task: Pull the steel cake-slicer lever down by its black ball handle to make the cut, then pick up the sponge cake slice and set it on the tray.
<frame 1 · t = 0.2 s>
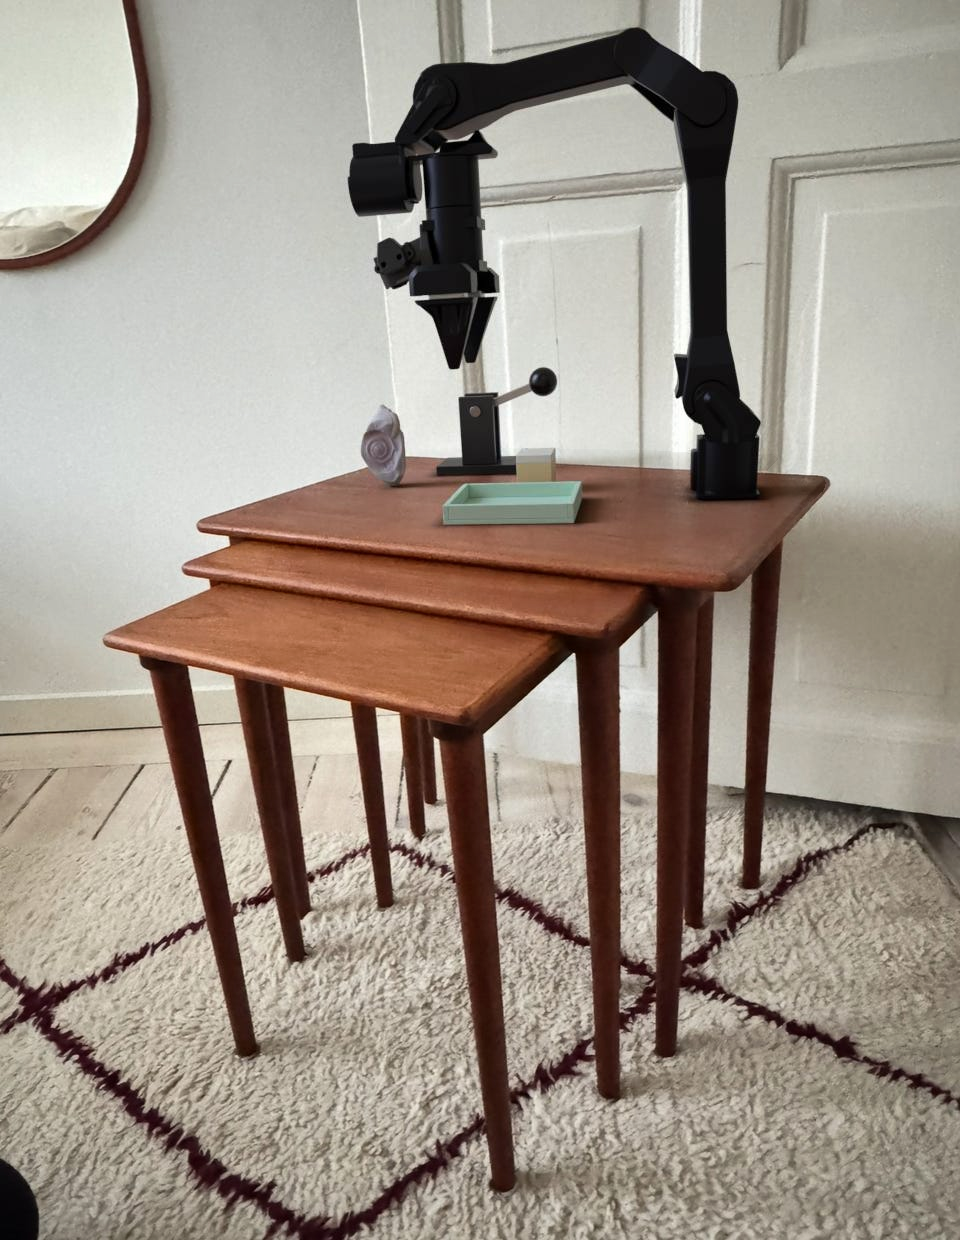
hand: (462, 365, 97), 15 cm above the table, tool pointing down, fingers open, 9 cm apart
cake slice: (537, 490, 104), on the table
black lever stand: (482, 469, 119), on the table
tray: (515, 511, 94), on the table
slicer lever: (512, 394, 115), point 10 cm above the table, hinge at 20.0°
fossil: (388, 488, 111), on the table
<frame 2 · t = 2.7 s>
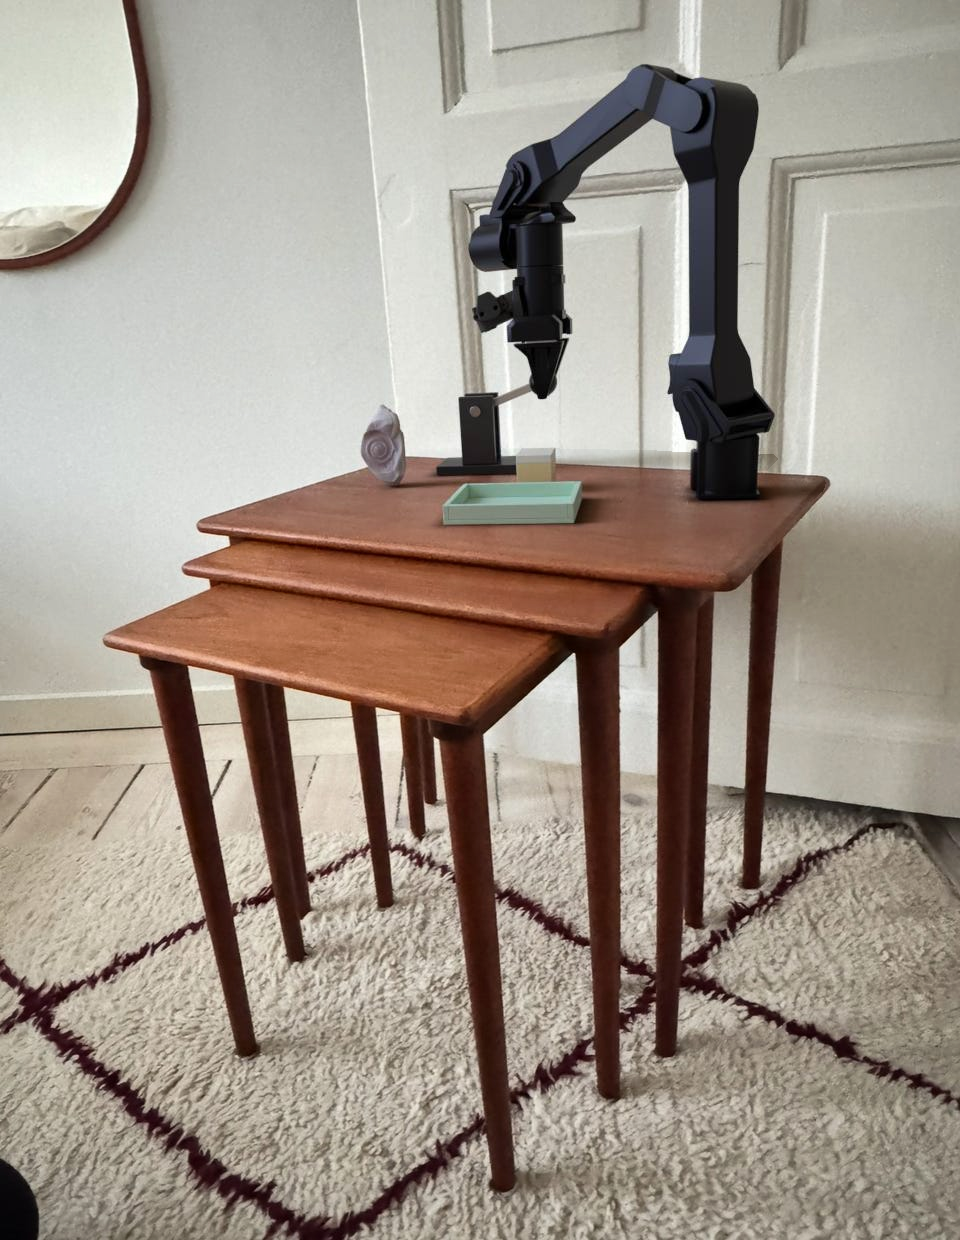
hand: (544, 397, 114), 9 cm above the table, tool pointing down, fingers closed on slicer lever, 3 cm apart
slicer lever: (512, 394, 115), point 10 cm above the table, hinge at 20.0°, touching gripper
everything else where it was.
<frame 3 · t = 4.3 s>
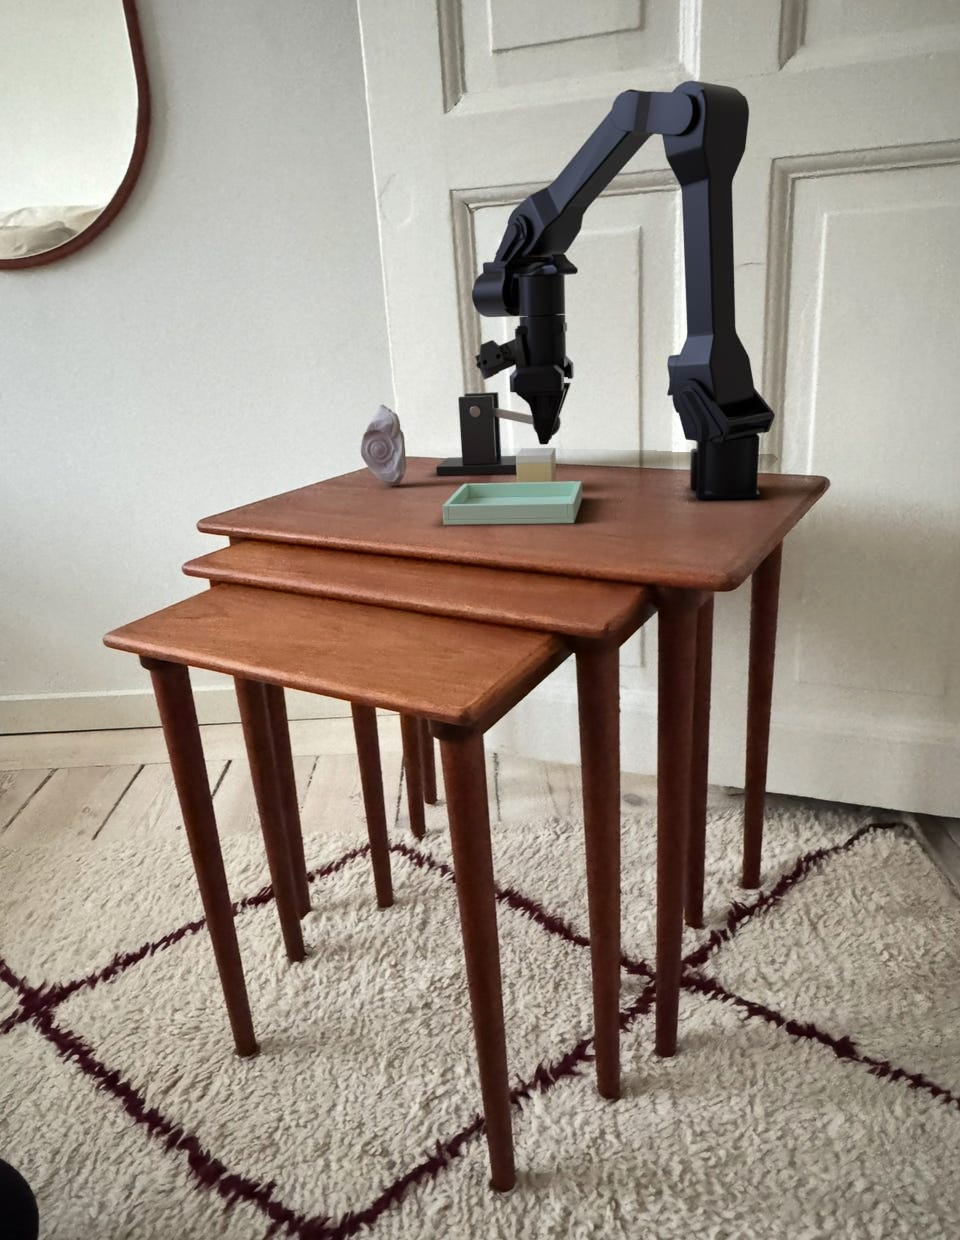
hand: (545, 442, 116), 3 cm above the table, tool pointing down, fingers closed on slicer lever, 3 cm apart
slicer lever: (514, 416, 116), point 7 cm above the table, hinge at -13.6°, touching gripper
everything else where it was.
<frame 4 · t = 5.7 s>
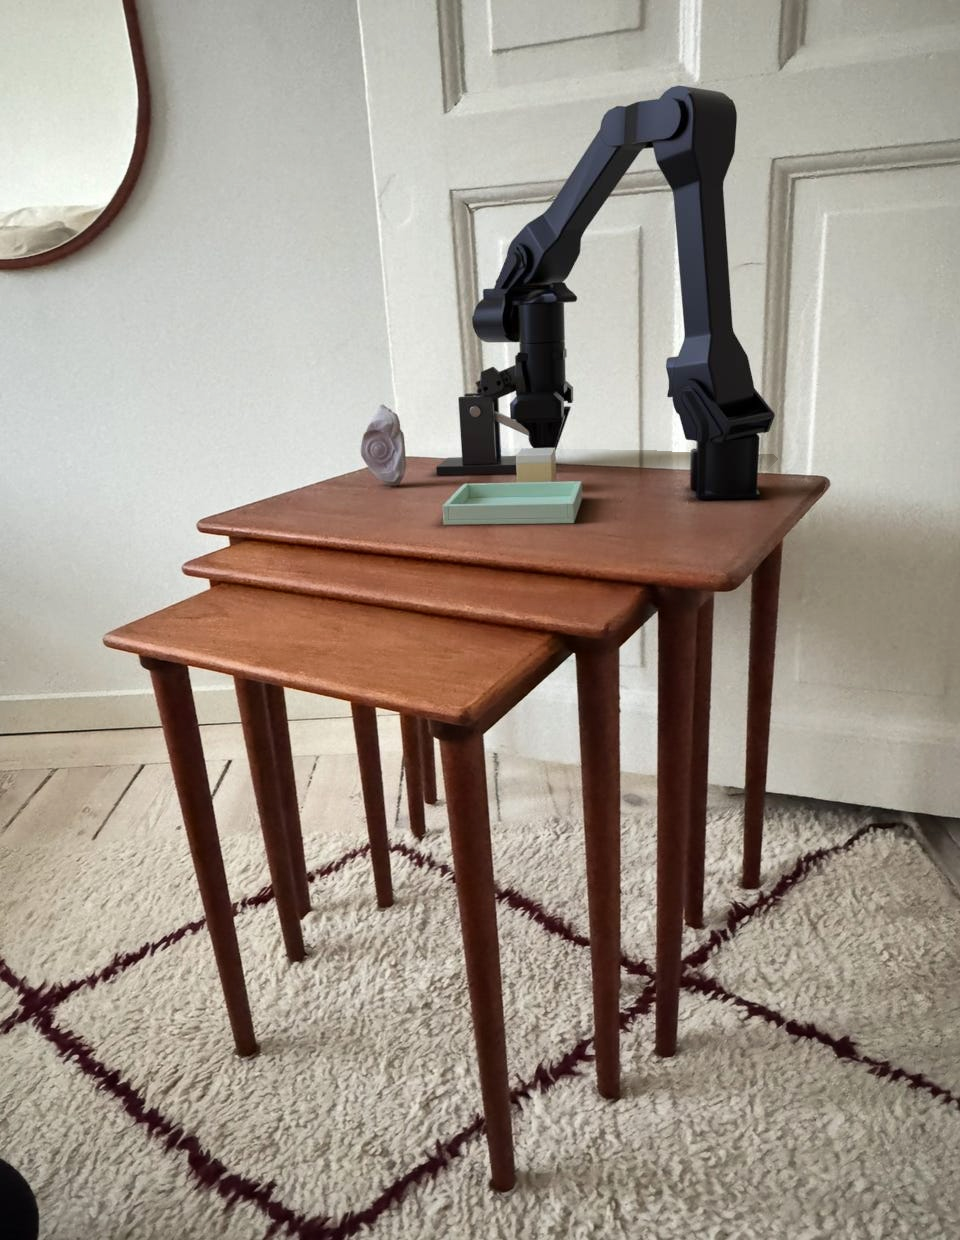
hand: (545, 466, 117), 0 cm above the table, tool pointing down, fingers open, 5 cm apart
slicer lever: (512, 423, 116), point 6 cm above the table, hinge at -25.6°
everything else where it was.
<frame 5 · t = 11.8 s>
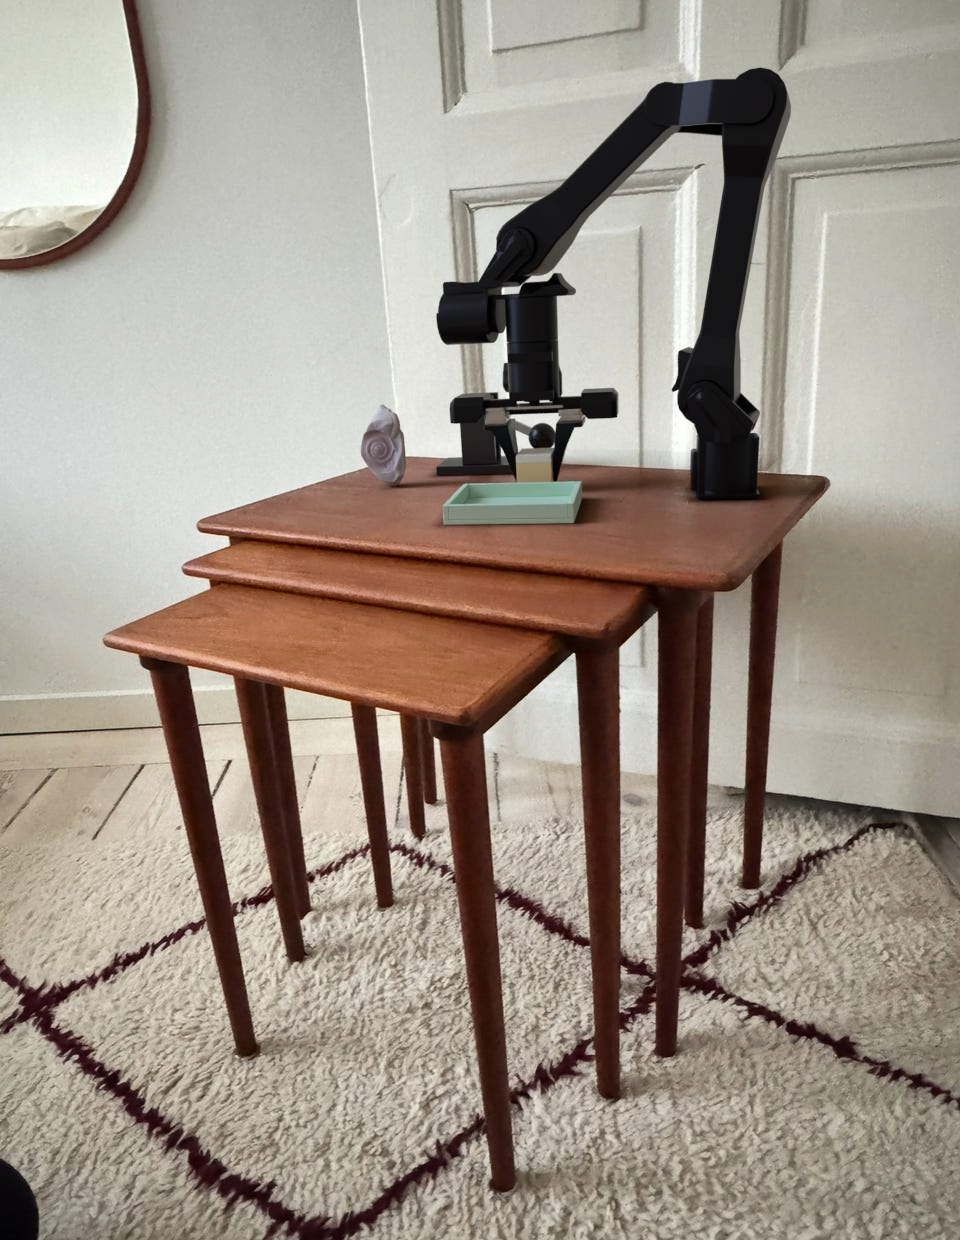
hand: (537, 481, 104), 1 cm above the table, tool pointing down, fingers closed on cake slice, 4 cm apart
cake slice: (537, 490, 104), on the table, touching gripper
everything else where it was.
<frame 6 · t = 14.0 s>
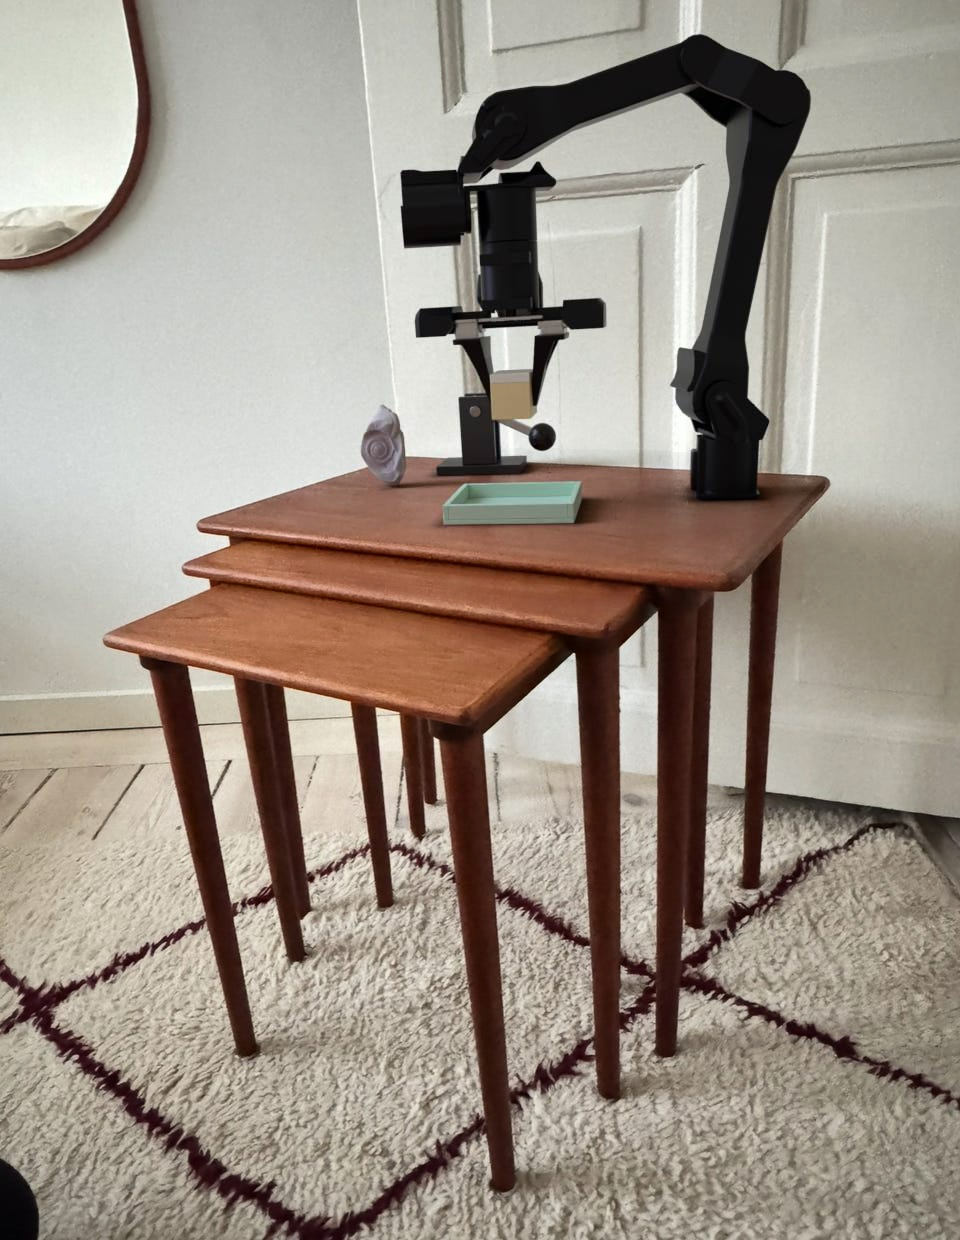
hand: (514, 406, 92), 11 cm above the table, tool pointing down, fingers closed on cake slice, 4 cm apart
cake slice: (515, 416, 92), point 10 cm above the table, touching gripper
everything else where it was.
when the fingers open (2 cm above the table, at t = 16.5 s): cake slice stays where it is, resting on tray.
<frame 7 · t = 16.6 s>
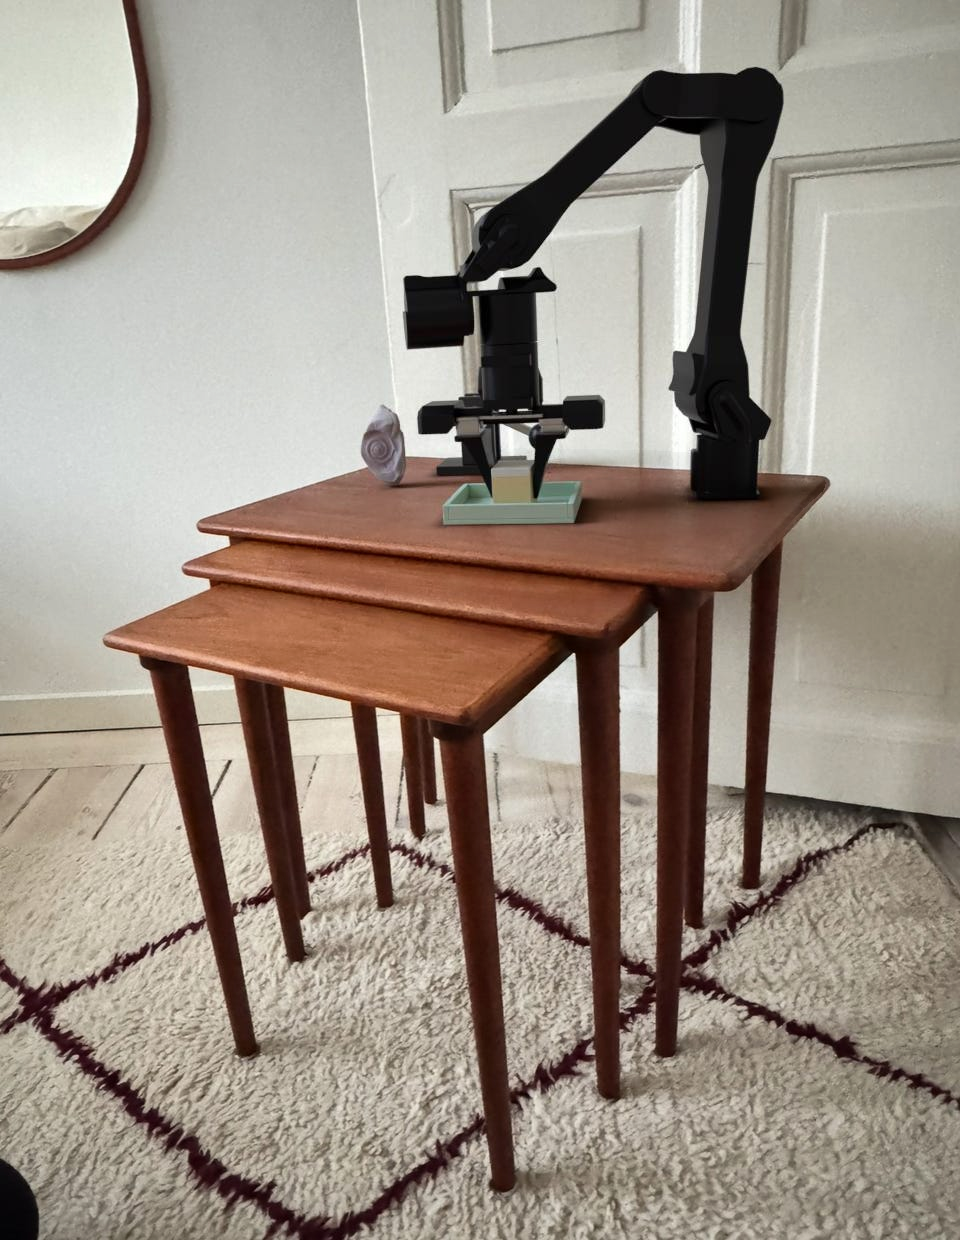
hand: (515, 498, 94), 1 cm above the table, tool pointing down, fingers open, 4 cm apart
cake slice: (515, 506, 94), resting on tray
everything else where it was.
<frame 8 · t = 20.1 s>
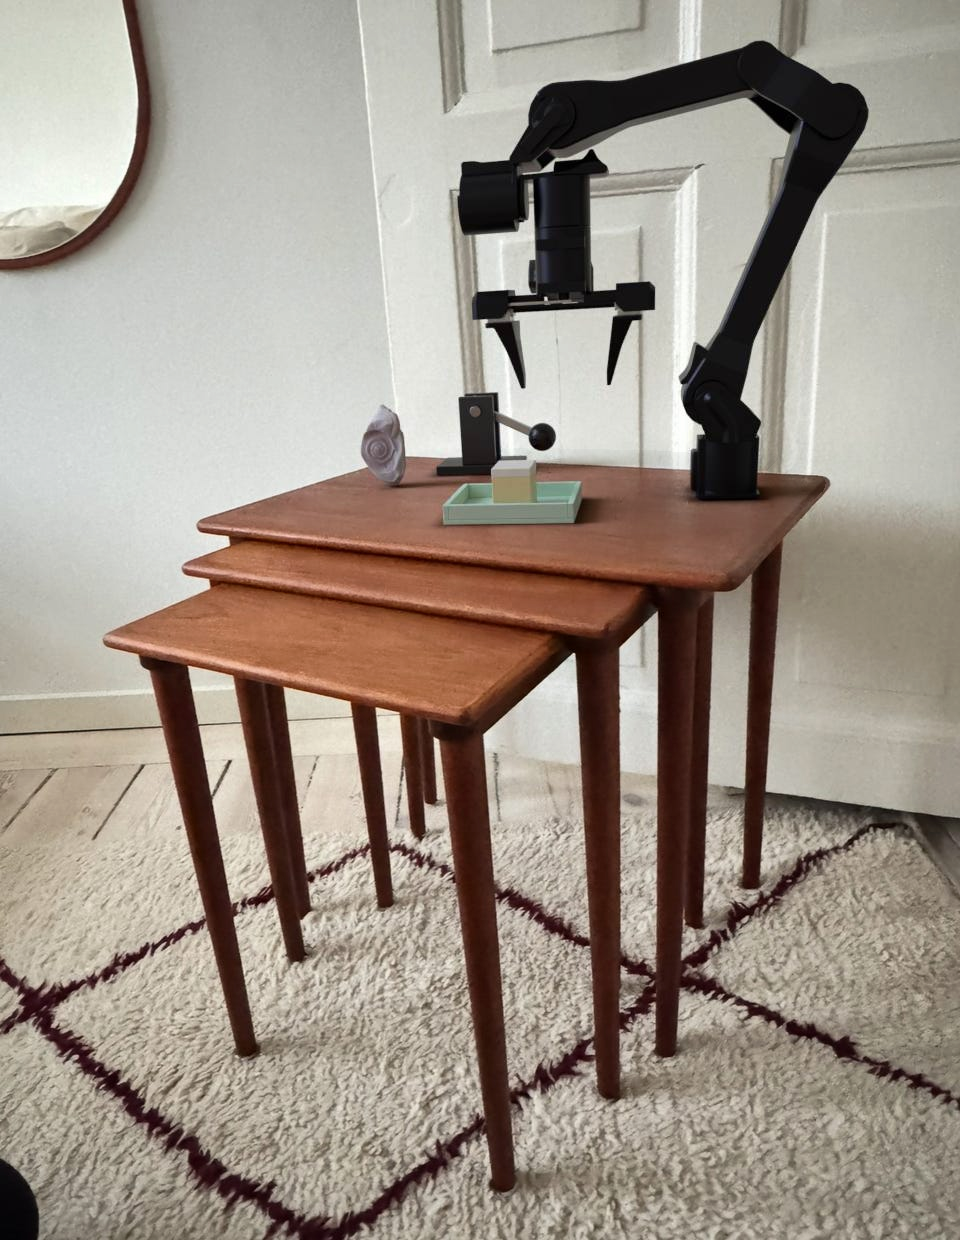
hand: (565, 386, 96), 12 cm above the table, tool pointing down, fingers open, 9 cm apart
nothing on the table moved.
at the end: slicer lever at -26° (first picture: +20°); cake slice inside the target area in the tray (0.0 cm from its centre), point 0.5 cm above the tray's base; the gripper is holding nothing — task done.
